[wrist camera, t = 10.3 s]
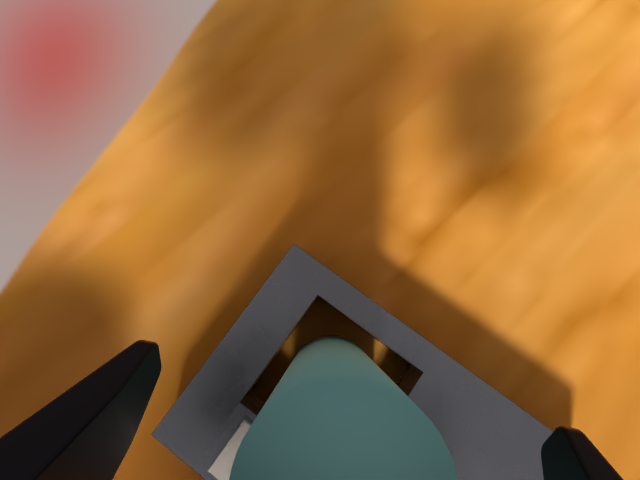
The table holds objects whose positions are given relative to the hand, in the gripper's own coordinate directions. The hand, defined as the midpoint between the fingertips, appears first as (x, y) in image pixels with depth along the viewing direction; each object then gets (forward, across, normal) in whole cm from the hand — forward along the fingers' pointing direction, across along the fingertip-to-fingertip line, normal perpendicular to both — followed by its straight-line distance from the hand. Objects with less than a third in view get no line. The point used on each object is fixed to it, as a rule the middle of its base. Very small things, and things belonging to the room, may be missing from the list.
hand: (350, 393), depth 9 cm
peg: (+7, 0, +9) cm, 11 cm away
